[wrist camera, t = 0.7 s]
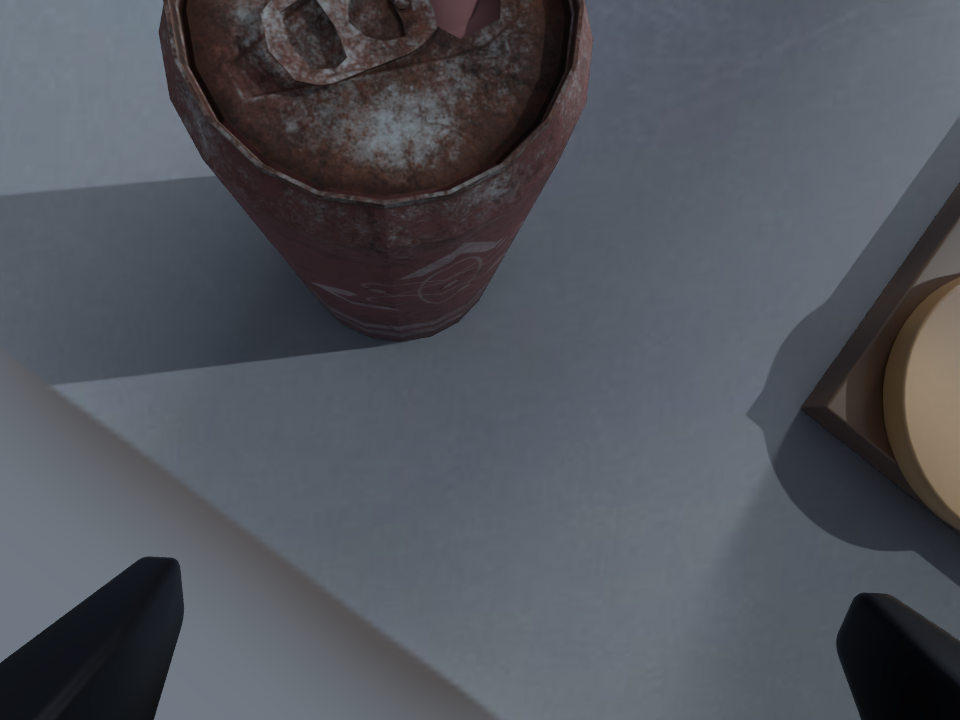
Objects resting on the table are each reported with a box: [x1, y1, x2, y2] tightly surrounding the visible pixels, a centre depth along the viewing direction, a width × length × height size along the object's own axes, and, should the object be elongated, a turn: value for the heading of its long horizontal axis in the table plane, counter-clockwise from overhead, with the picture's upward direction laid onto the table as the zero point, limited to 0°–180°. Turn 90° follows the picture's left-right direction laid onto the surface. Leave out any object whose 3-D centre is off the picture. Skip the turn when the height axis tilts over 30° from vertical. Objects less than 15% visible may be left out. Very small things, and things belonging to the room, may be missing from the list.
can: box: [159, 0, 593, 342], centre depth 16 cm, size 6×6×14 cm
